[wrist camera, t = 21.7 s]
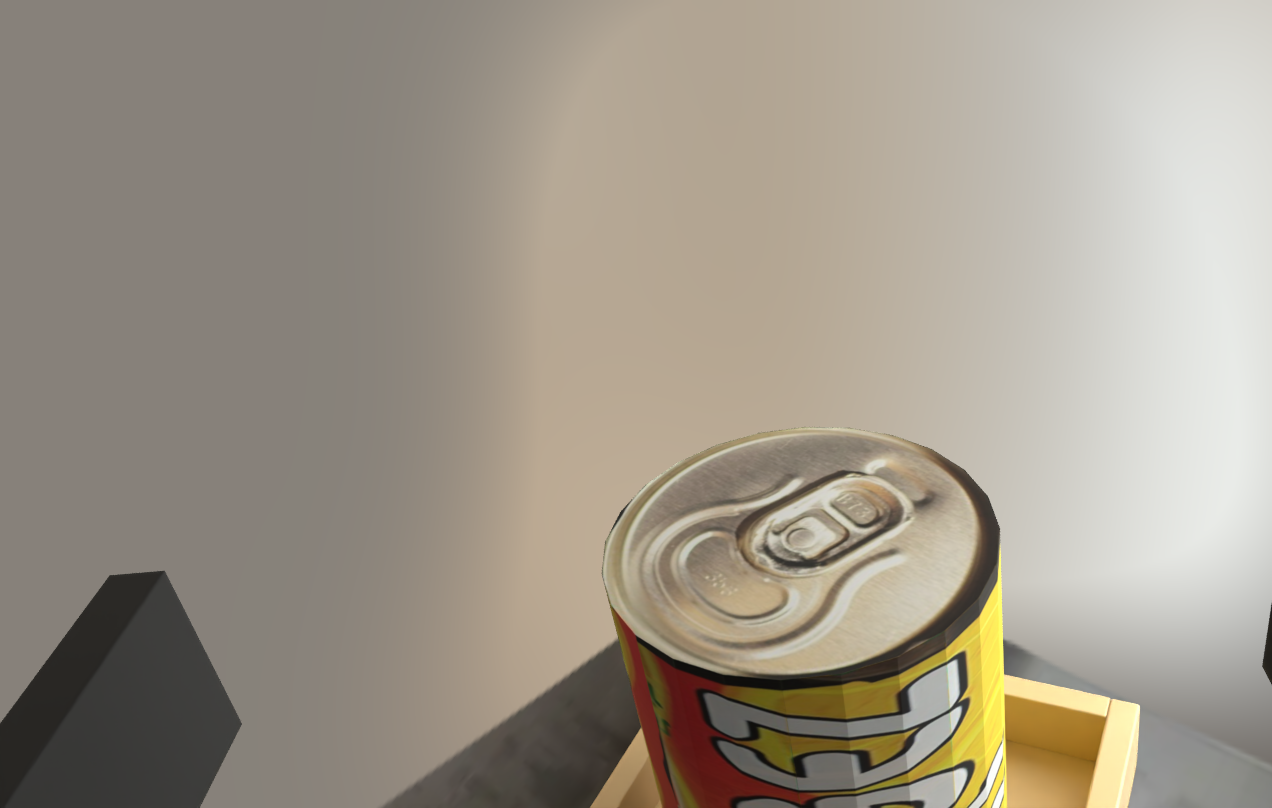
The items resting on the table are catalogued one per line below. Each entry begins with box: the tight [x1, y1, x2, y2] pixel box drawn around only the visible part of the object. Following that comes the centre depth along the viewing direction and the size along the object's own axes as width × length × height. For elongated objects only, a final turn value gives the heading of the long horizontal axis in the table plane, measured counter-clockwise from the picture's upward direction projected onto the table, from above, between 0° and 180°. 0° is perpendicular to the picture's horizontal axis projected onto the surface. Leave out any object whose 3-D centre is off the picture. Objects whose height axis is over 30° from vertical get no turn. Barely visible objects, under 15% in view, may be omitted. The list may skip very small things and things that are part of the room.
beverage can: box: [602, 427, 1007, 808], centre depth 29 cm, size 9×9×12 cm
